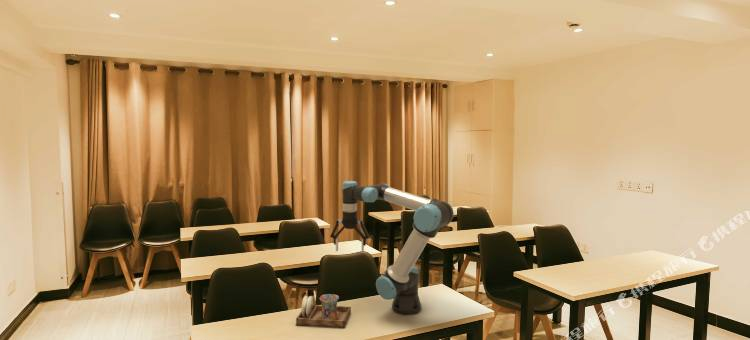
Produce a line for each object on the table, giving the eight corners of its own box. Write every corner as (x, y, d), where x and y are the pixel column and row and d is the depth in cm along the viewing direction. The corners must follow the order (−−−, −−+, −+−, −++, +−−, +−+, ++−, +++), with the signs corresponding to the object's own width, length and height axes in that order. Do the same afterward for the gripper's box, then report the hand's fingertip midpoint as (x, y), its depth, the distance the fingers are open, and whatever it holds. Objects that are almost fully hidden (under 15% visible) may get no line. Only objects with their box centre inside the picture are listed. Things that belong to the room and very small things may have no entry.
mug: (339, 322, 209) (339, 300, 208) (319, 323, 208) (319, 301, 207) (338, 312, 221) (338, 291, 220) (319, 313, 220) (319, 292, 219)
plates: (313, 312, 220) (312, 293, 220) (307, 321, 211) (307, 300, 210) (307, 312, 221) (307, 292, 220) (301, 320, 211) (301, 300, 210)
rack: (350, 313, 222) (350, 306, 222) (344, 328, 205) (344, 321, 205) (306, 311, 225) (306, 304, 224) (296, 325, 208) (296, 318, 207)
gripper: (374, 210, 231) (374, 250, 233) (327, 209, 234) (327, 248, 236) (372, 212, 224) (372, 253, 226) (324, 211, 227) (324, 252, 229)
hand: (349, 251), depth 231 cm, fingers open, 13 cm apart
